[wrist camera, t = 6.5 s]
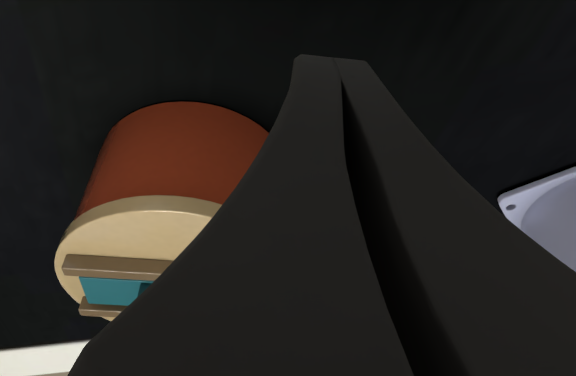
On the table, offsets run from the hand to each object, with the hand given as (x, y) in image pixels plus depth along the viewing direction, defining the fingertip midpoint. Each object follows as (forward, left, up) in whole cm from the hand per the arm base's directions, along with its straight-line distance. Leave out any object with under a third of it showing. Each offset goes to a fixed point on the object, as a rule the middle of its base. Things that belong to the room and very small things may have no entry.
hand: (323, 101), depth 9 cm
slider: (-6, +14, -3) cm, 15 cm away
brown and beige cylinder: (-8, +12, -10) cm, 17 cm away
